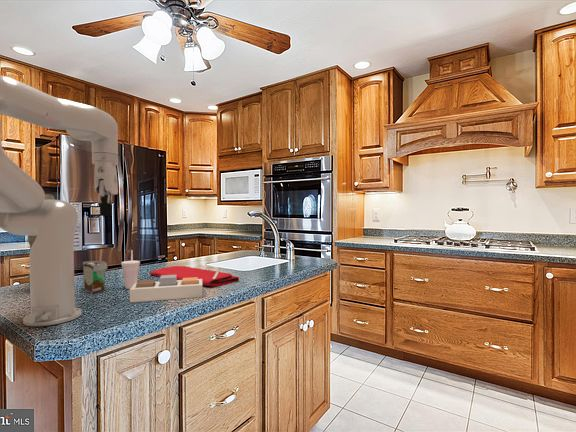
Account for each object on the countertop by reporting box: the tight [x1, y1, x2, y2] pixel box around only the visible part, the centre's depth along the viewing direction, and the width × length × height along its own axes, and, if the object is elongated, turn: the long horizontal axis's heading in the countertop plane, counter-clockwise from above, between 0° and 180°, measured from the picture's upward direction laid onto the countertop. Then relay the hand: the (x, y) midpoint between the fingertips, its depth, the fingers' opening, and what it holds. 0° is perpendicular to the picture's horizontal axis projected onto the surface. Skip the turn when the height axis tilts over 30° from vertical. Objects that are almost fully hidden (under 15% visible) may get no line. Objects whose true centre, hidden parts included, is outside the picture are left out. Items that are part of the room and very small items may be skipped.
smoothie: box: [120, 249, 141, 290], centre depth 120 cm, size 6×6×14 cm
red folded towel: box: [149, 265, 240, 288], centre depth 137 cm, size 16×41×4 cm, turn 52°
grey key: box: [159, 275, 177, 286], centre depth 109 cm, size 5×5×3 cm
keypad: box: [129, 279, 203, 303], centre depth 109 cm, size 10×22×4 cm, turn 105°
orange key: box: [182, 277, 198, 285], centre depth 111 cm, size 5×5×3 cm
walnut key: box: [136, 279, 156, 288], centre depth 107 cm, size 5×5×3 cm
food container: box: [82, 260, 108, 295], centre depth 117 cm, size 12×6×10 cm, turn 47°
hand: (106, 215), depth 107 cm, fingers closed
